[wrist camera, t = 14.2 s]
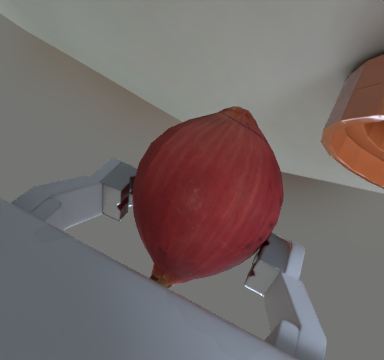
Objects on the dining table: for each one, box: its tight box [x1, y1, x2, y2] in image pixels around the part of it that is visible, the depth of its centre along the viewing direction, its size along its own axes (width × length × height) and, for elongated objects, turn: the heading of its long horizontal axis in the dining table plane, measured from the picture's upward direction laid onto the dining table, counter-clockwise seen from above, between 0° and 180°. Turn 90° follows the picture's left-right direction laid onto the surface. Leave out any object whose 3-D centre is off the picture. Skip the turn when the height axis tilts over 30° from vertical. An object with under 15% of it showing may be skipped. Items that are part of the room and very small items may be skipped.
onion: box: [132, 107, 283, 289], centre depth 13 cm, size 6×6×8 cm
